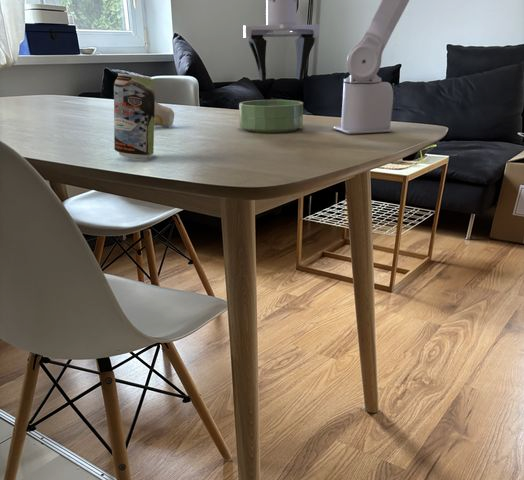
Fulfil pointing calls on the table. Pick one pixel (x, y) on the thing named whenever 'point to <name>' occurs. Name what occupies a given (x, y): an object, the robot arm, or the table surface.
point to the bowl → (271, 115)
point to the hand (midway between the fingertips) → (281, 79)
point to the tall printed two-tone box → (134, 116)
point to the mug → (163, 116)
